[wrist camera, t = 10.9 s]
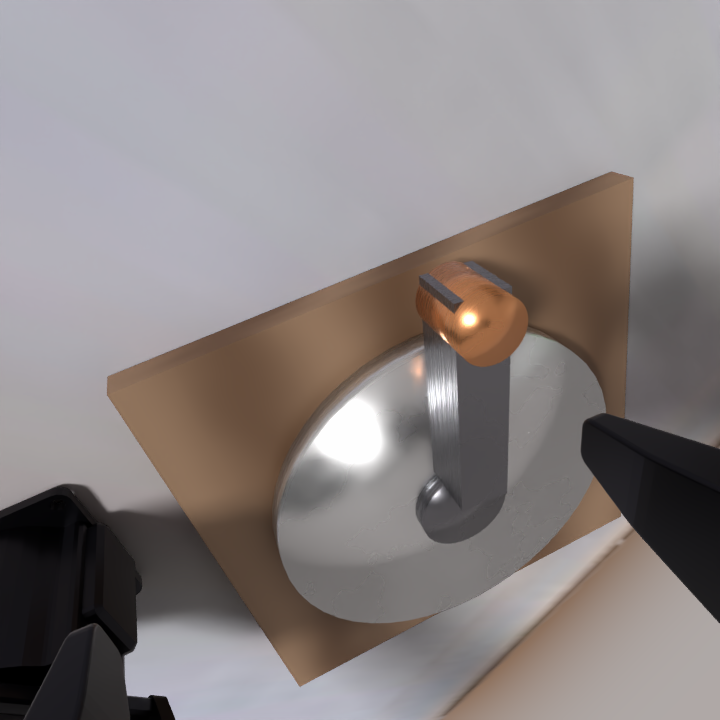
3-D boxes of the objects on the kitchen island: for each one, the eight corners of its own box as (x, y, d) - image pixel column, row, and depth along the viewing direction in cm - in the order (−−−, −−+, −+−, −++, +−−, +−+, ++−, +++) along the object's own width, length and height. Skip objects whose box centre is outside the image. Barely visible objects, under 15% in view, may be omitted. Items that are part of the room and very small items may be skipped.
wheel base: (294, 666, 31) (299, 686, 30) (107, 376, 19) (106, 394, 18) (606, 502, 35) (620, 516, 34) (611, 171, 23) (633, 177, 22)
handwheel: (574, 531, 32) (629, 590, 29) (309, 646, 28) (335, 730, 25) (615, 200, 22) (709, 231, 18) (203, 313, 18) (223, 379, 14)
